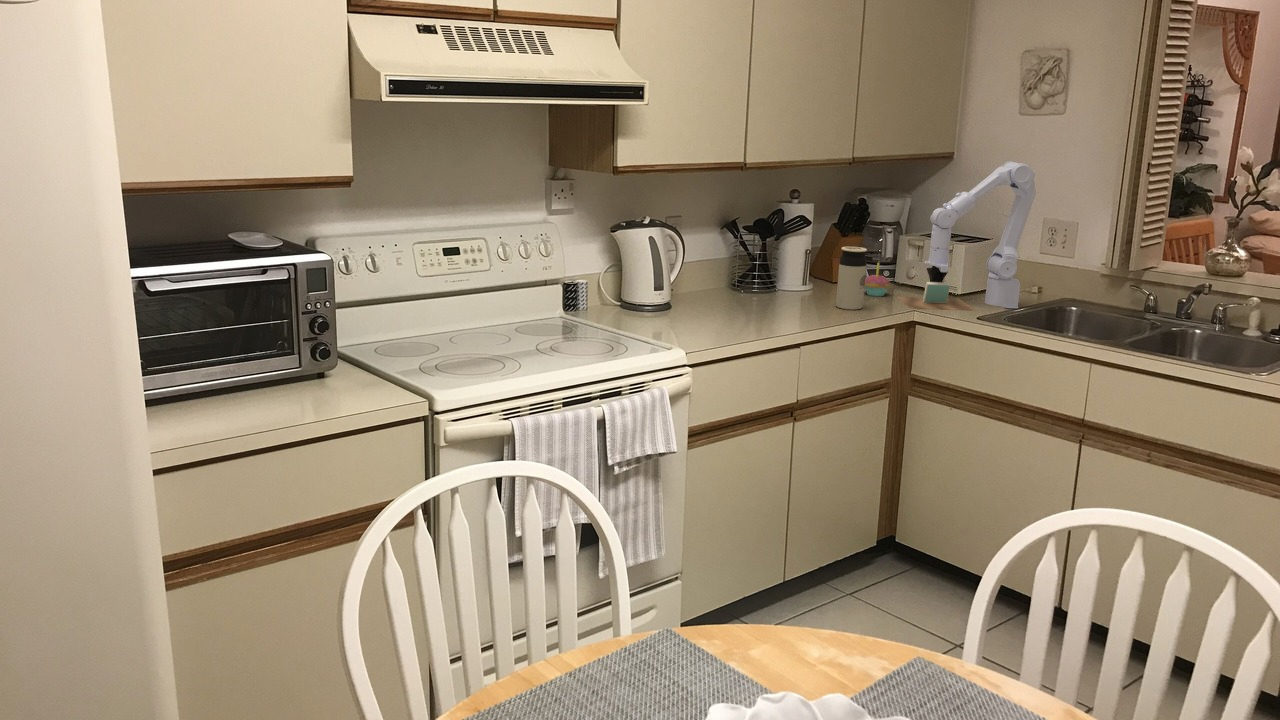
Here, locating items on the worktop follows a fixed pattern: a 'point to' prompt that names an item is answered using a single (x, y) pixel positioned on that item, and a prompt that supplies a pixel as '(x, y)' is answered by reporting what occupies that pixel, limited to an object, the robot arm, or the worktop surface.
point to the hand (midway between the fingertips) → (935, 291)
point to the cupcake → (876, 284)
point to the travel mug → (851, 278)
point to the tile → (936, 292)
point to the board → (936, 304)
